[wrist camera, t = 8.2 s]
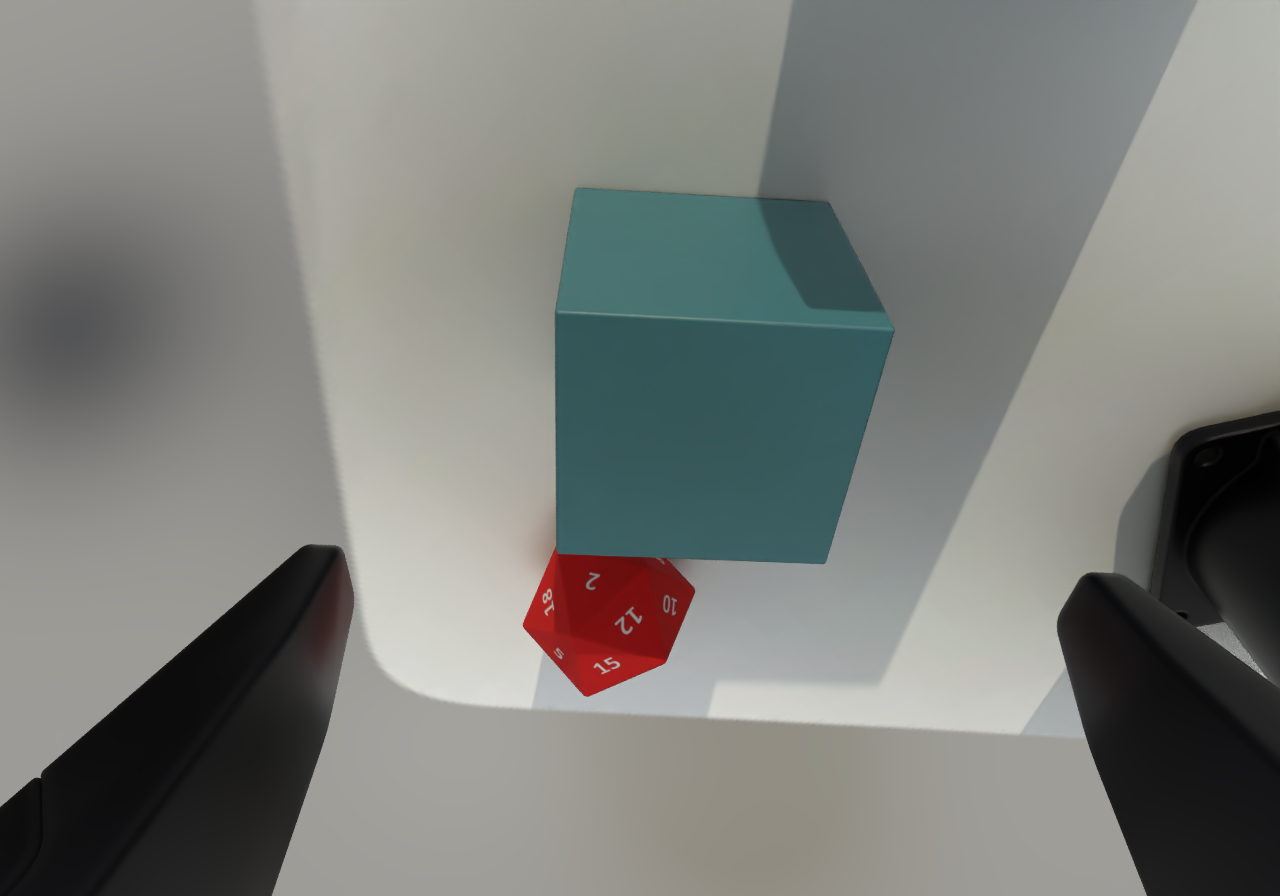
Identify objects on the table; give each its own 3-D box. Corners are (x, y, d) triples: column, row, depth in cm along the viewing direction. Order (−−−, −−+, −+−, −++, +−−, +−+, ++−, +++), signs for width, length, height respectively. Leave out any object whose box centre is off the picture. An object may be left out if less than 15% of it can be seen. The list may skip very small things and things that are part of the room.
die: (512, 644, 20) (604, 757, 17) (483, 546, 18) (583, 658, 15) (628, 572, 21) (729, 665, 19) (613, 474, 19) (726, 563, 17)
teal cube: (785, 409, 17) (826, 565, 13) (572, 399, 17) (556, 555, 13) (830, 201, 14) (897, 328, 10) (575, 186, 14) (554, 311, 10)
